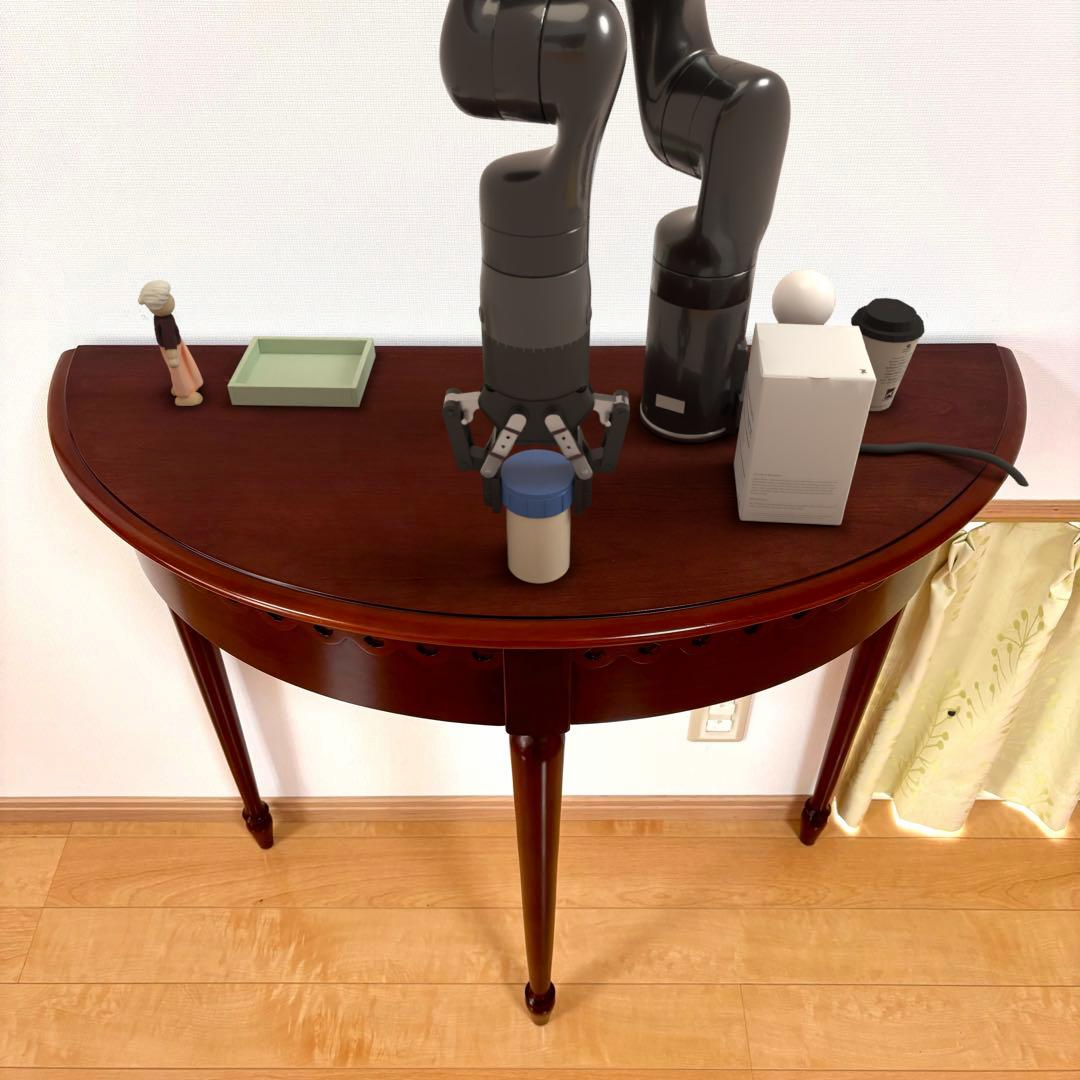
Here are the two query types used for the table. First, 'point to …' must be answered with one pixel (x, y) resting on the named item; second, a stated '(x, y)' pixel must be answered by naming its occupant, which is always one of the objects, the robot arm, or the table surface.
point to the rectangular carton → (801, 422)
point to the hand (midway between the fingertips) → (537, 506)
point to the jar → (538, 546)
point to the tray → (303, 371)
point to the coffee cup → (888, 343)
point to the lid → (537, 484)
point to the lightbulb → (803, 298)
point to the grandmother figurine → (172, 343)
